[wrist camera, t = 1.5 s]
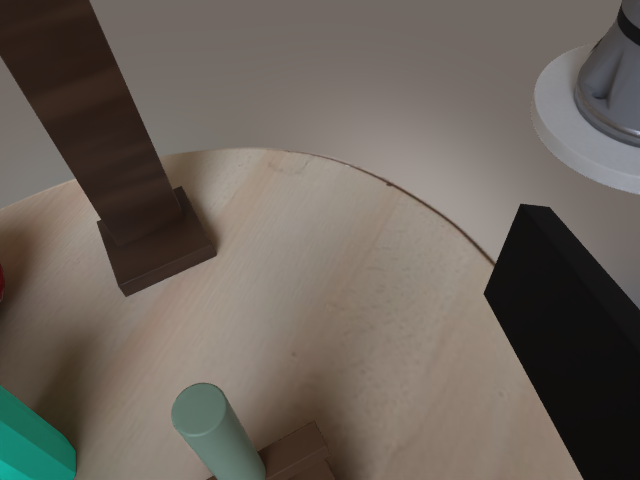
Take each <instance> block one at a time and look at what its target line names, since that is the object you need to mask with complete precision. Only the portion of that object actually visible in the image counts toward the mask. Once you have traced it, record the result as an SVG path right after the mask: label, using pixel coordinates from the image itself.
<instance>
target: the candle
mask: <svg viewBox="0 0 640 480" xmlns="http://www.w3.org/2000/svg"><path fill="white" fill-rule="evenodd" d="M75 475H76V451H75V449H74V448H73V447H72V445H71V444H70V443H69V441H68V440H67V439H66V437H65V436H64V435H63V434H61V433H60V432H59V431H57V430H56V429H55V428H54V427H52V426H51V425H50V424H49V423H47V422H46V421H45V420H44V419H42V418H41V417H40V416H39V415H37V414H36V413H35V412H33V411H32V410H31V409H30V408H28V407H27V406H26V405H25V404H23V403H22V402H21V401H20V400H18V399H17V398H16V397H15V396H13V395H12V394H11V393H9V392H8V391H7V390H6V389H4V388H3V387H2V386H1V385H0V480H73V479H74V477H75Z"/></svg>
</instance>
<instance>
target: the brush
mask: <svg viewBox="0 0 640 480" xmlns="http://www.w3.org/2000/svg"><path fill="white" fill-rule="evenodd" d="M171 416H172V422H173V425H174V427H175V428H176V430H177V431H178V432H179V433H180V434H181V436H182V437H183V438H184V439H185V440H186V442H187V443H188V444H189V445H190V447H191V448H192V449H193V450H194V451H195V453H196V454H197V455H198V456H199V458H200V459H201V460H202V461H203V462H204V464H205V465H206V466H207V467H208V469H209V470H210V471H211V472H212V473H213V475H214V476H212V477H211V478H209V479H207V480H336V479H335V477H334V475H333V473H332V471H331V469H330V467H329V465H328V463H327V461H326V459H325V458H326V457H328V456H329V455H330V453H329V450H328V446H327V444H326V442H325V440H324V438H323V436H322V434H321V432H320V430H319V428H318V427H317V425H316V423H315V421H313V422H311V423H309V424H308V425H306V426H304V427H302V428H300V429H298V430H297V431H295V432H293V433H291V434H289V435H288V436H286V437H284V438H282V439H280V440H278V441H277V442H275V443H273V444H271V445H269V446H267V447H266V448H264V449H262V450H260V451H258V452H257V451H256V449H255V448H254V446H253V444H252V442H251V441H250V439H249V437H248V435H247V433H246V432H245V430H244V428H243V426H242V425H241V423H240V421H239V419H238V418H237V416H236V414H235V412H234V411H233V409H232V407H231V405H230V404H229V402H228V400H227V398H226V397H225V395H224V393H223V392H222V390H221V389H220V388H218V387H217V386H215V385H213V384H209V383H198V384H194V385H192V386H190V387H188V388H186V389H185V390H184V391H182V392H181V393H180V394H179V396H178V397H177V398H176V400H175V402H174V404H173V408H172V415H171Z"/></svg>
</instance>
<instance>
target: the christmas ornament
mask: <svg viewBox="0 0 640 480" xmlns="http://www.w3.org/2000/svg"><path fill="white" fill-rule="evenodd" d="M4 288H5V279H4V273H3V269H2V266H1V264H0V303H1V301H2V298H3V294H4Z"/></svg>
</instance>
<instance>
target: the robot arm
mask: <svg viewBox="0 0 640 480" xmlns="http://www.w3.org/2000/svg"><path fill="white" fill-rule="evenodd" d="M594 49H595V50H594ZM593 50H594V51H593ZM592 51H593V52H592ZM591 52H592V54H591V55H590V56H589V58H588V59H587V60H586V62H585V63H584V64H583V66H582V67H581V69H580V71H579V74H578V78H577V81H576V85H575V88H574V102H575V105H576V107H577V109H578V111H579V113H580V114H581V115H582V117H583V118H584V119H585V120H586V121H587V122H588V123H589V124H590V125H591V126H592V127H594V128H595V129H596V130H598V131H599V132H601V133H603V134H604V135H606V136H608V137H610V138H612V139H614V140H616V141H619V142H621V143H624V144H627V145H630V146H633V147H637V148H640V0H622V4H621V6H620V9H619V12H618V16H617V18H616V21H615V23H614V24H613V25H612V27H611V28H610V29H609V31H608V32H607V33H606V35H605V36H604V37H603V38H602V39H601V40H600V41H599V42H598V43H597V44H596V45H595V46H594V48H593V49H592V50H591ZM591 52H590V53H591ZM590 53H589V54H590ZM484 296H485V297H486V299H487V301H488V303H489V305H490V307H491V309H492V310H493V312H494V314H495V316H496V318H497V320H498V322H499V323H500V325H501V327H502V329H503V331H504V333H505V335H506V336H507V338H508V340H509V342H510V344H511V346H512V348H513V349H514V351H515V353H516V355H517V357H518V359H519V361H520V362H521V364H522V366H523V368H524V370H525V372H526V374H527V375H528V377H529V379H530V381H531V383H532V385H533V387H534V388H535V390H536V392H537V394H538V396H539V398H540V400H541V401H542V403H543V405H544V407H545V409H546V411H547V413H548V414H549V416H550V418H551V420H552V422H553V424H554V426H555V427H556V429H557V431H558V433H559V435H560V437H561V439H562V440H563V442H564V444H565V446H566V448H567V450H568V452H569V453H570V455H571V457H572V459H573V461H574V463H575V465H576V466H577V468H578V470H579V472H580V474H581V476H582V478H583V479H584V480H640V310H639V309H638V307H637V306H636V305H635V304H634V303H633V302H632V301H631V299H630V298H629V297H628V296H627V295H626V294H625V293H624V291H623V290H622V289H621V288H620V287H619V286H618V285H617V283H616V282H615V281H614V280H613V279H612V278H611V277H610V275H609V274H608V273H607V272H606V271H605V270H604V269H603V268H602V266H601V265H600V264H599V263H598V262H597V261H596V259H595V258H594V257H593V256H592V255H591V254H590V253H589V252H588V250H587V249H586V248H585V247H584V246H583V245H582V244H581V242H580V241H579V240H578V239H577V238H576V237H575V236H574V234H573V233H572V232H571V231H570V230H569V229H568V228H567V226H566V225H565V224H564V223H563V222H562V221H561V220H560V218H559V217H558V216H557V215H556V214H555V213H554V212H553V211H552V209H551V208H550V207H545V206H536V205H527V204H520V206H519V209H518V211H517V214H516V216H515V219H514V221H513V223H512V226H511V228H510V231H509V233H508V235H507V238H506V240H505V243H504V245H503V248H502V250H501V252H500V255H499V257H498V260H497V262H496V265H495V267H494V269H493V272H492V274H491V277H490V279H489V282H488V284H487V287H486V289H485V291H484Z"/></svg>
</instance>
